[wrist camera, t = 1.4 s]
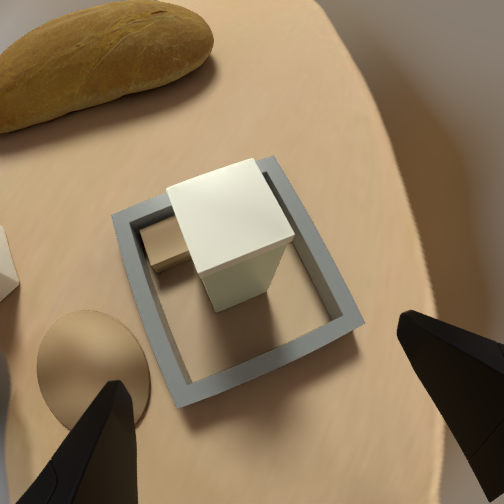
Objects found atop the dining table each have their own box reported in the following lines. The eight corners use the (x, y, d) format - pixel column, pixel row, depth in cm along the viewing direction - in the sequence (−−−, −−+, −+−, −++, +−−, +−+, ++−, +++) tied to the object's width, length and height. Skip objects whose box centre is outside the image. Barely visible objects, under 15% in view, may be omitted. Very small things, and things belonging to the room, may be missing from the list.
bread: (218, 95, 30) (216, 16, 20) (-29, 159, 26) (-66, 116, 17) (210, 25, 36) (209, -31, 27) (11, 77, 32) (-10, 36, 23)
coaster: (172, 419, 19) (170, 420, 18) (65, 447, 17) (62, 448, 16) (123, 292, 22) (121, 291, 21) (27, 332, 20) (24, 332, 19)
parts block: (193, 259, 23) (190, 249, 21) (157, 273, 23) (151, 265, 21) (180, 226, 24) (176, 214, 22) (146, 240, 24) (139, 230, 22)
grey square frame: (352, 327, 22) (365, 323, 19) (184, 403, 19) (177, 408, 17) (270, 173, 26) (273, 155, 24) (121, 229, 23) (111, 215, 21)
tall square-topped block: (268, 292, 22) (294, 234, 13) (215, 315, 22) (197, 273, 12) (245, 243, 24) (252, 157, 14) (193, 263, 23) (165, 188, 13)
